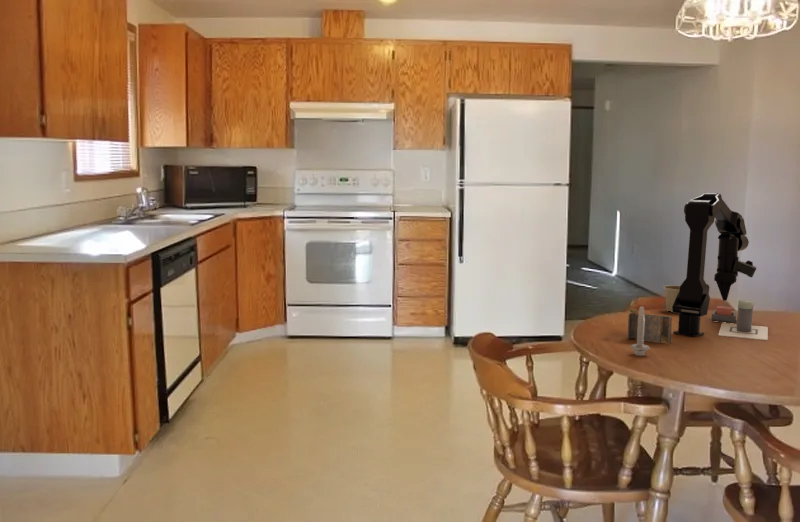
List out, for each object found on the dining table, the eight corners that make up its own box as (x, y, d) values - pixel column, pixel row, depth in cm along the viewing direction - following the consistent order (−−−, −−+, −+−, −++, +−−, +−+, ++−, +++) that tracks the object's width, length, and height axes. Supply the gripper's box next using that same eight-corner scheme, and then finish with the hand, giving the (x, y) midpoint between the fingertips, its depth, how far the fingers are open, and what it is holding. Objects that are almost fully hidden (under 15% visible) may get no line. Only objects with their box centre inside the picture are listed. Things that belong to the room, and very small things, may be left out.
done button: (731, 316, 226) (731, 309, 226) (716, 314, 228) (716, 307, 228) (731, 313, 230) (732, 306, 230) (717, 312, 232) (717, 305, 232)
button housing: (735, 324, 225) (735, 316, 225) (711, 321, 228) (711, 314, 228) (735, 320, 231) (736, 312, 231) (712, 318, 234) (713, 310, 234)
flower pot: (695, 314, 240) (696, 289, 239) (667, 314, 240) (668, 289, 239) (684, 309, 250) (686, 285, 249) (658, 309, 250) (659, 285, 249)
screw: (632, 356, 182) (628, 352, 187) (651, 357, 181) (646, 352, 186) (634, 307, 181) (630, 304, 185) (653, 307, 180) (649, 304, 185)
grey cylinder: (747, 332, 211) (749, 303, 210) (733, 330, 214) (735, 301, 213) (754, 331, 213) (756, 301, 212) (740, 328, 216) (742, 299, 215)
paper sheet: (767, 340, 202) (767, 339, 202) (718, 335, 208) (718, 334, 208) (767, 327, 219) (767, 326, 219) (721, 323, 225) (722, 322, 225)
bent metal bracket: (627, 340, 202) (628, 307, 201) (629, 338, 205) (630, 305, 204) (668, 345, 197) (670, 311, 196) (670, 343, 199) (672, 309, 198)
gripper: (755, 256, 215) (752, 307, 217) (756, 251, 232) (752, 298, 233) (715, 254, 220) (712, 303, 222) (719, 249, 237) (716, 295, 238)
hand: (724, 300), depth 229 cm, fingers closed
